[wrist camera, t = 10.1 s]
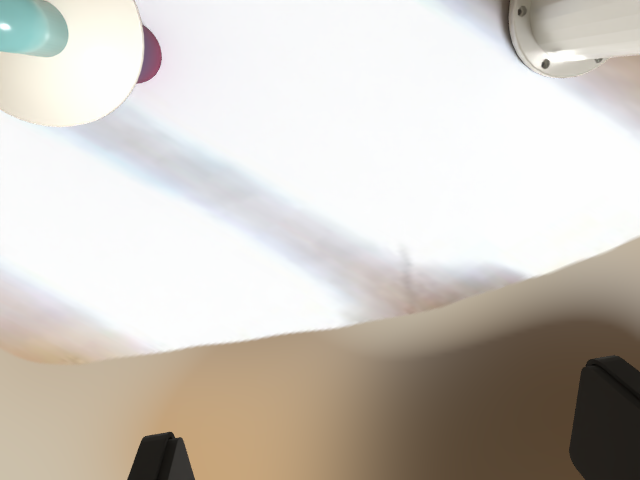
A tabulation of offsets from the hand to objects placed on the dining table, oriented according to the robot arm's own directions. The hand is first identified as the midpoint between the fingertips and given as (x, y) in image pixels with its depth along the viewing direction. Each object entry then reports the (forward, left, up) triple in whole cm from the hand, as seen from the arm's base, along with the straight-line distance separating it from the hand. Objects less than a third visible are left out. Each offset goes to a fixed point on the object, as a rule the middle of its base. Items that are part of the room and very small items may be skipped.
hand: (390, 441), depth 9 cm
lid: (+13, -12, -19) cm, 26 cm away
